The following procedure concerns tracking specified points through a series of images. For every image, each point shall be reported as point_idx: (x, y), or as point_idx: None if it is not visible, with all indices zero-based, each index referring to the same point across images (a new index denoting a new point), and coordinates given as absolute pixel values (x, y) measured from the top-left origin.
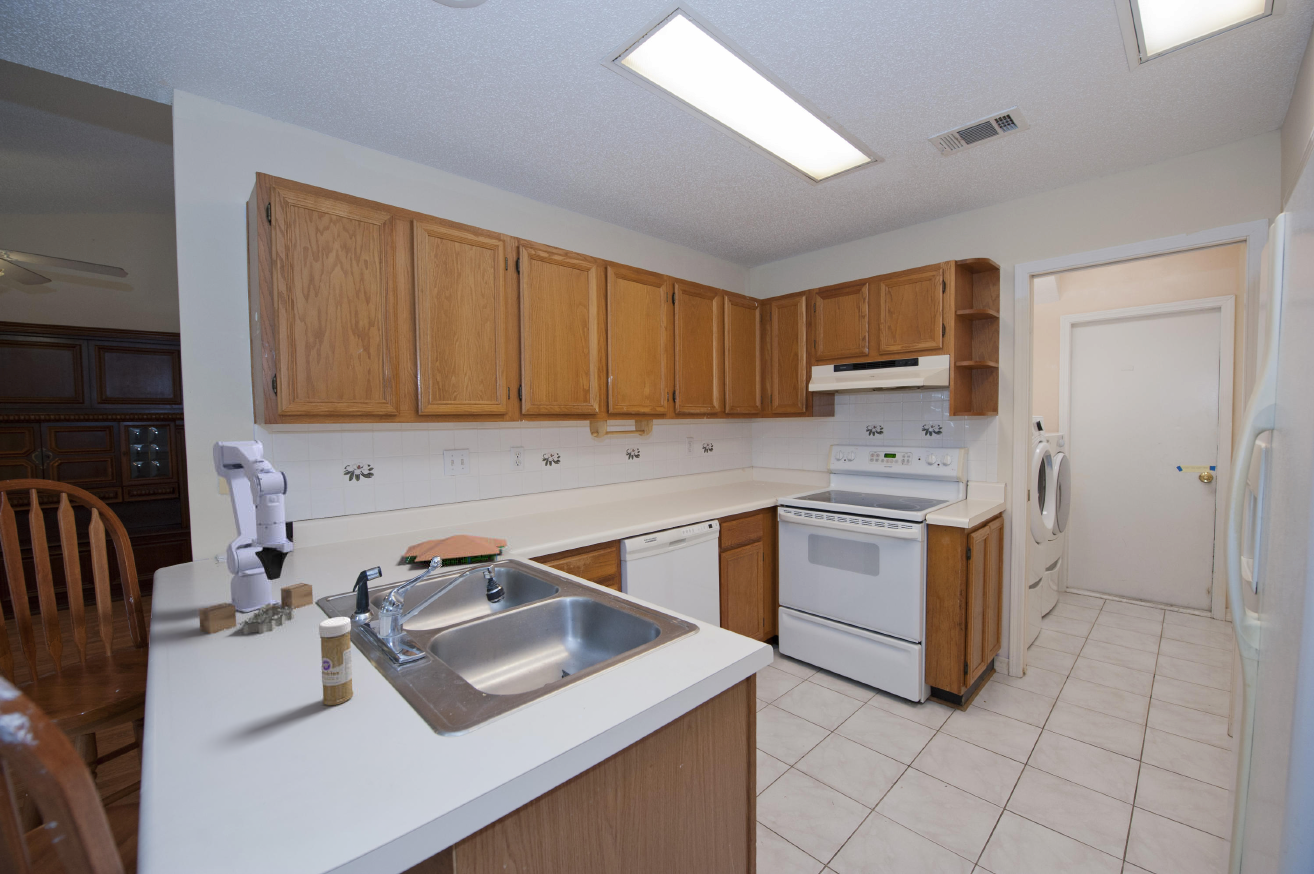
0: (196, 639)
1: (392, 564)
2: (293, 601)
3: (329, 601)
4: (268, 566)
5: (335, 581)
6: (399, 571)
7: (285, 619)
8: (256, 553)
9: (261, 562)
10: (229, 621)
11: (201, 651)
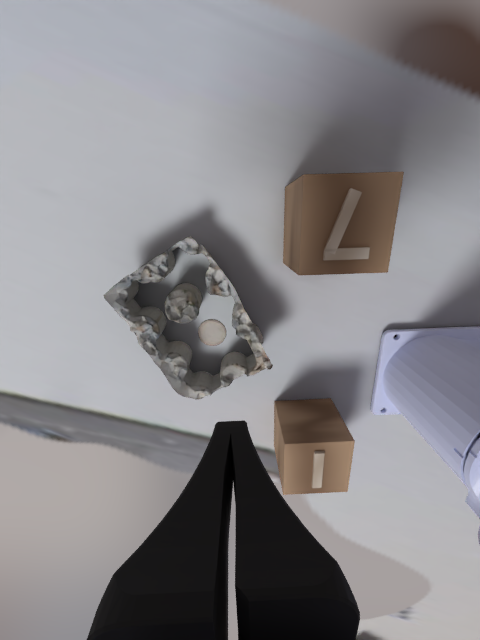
0: (274, 137)
1: (383, 631)
2: (278, 420)
3: None
4: (187, 484)
5: (399, 538)
6: None
7: (191, 354)
8: (291, 583)
9: (276, 498)
10: (287, 246)
11: (125, 91)
